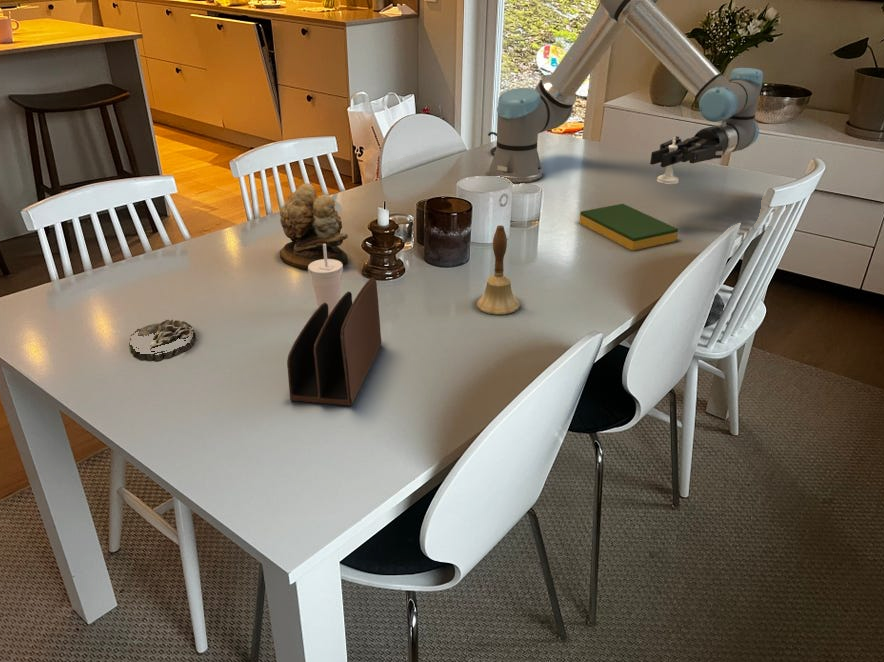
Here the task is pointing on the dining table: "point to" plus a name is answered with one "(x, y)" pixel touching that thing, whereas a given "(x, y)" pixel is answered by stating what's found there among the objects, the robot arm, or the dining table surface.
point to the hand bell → (498, 282)
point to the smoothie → (326, 280)
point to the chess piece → (669, 169)
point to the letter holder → (336, 349)
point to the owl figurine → (311, 228)
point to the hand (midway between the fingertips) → (657, 159)
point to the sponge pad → (628, 226)
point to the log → (165, 338)
